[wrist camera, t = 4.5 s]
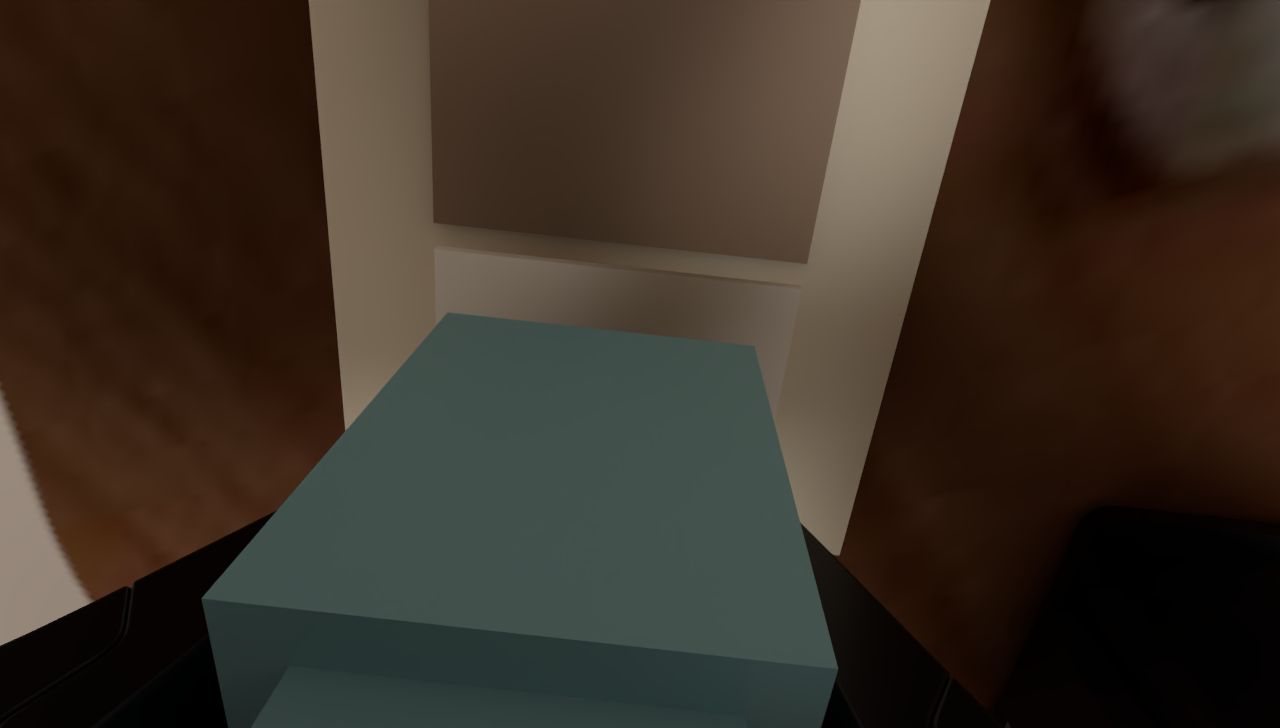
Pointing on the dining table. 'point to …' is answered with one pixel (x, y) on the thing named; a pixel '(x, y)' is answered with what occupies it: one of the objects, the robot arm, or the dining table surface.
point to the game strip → (647, 186)
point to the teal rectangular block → (535, 549)
